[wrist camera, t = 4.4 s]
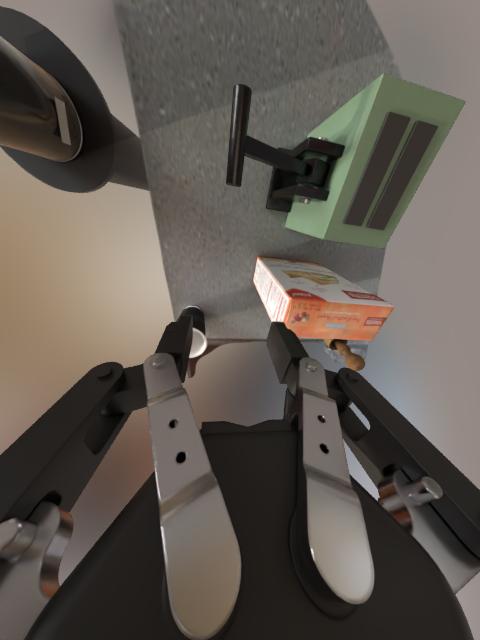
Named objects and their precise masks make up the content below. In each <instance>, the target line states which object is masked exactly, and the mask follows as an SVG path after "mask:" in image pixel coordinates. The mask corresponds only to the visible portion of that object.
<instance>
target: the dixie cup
mask: <svg viewBox="0 0 480 640" xmlns="http://www.w3.org/2000/svg"><path fill="white" fill-rule="evenodd" d="M181 315H190V316H193V339H192V346H191V351H190V356H189V358H193V357H196V356H199V355H200V354H202V353H203V352H204V351H205V349H206V347H207V339H206V337H205V321H204V314H203V312H202V310H201V309H200V308H199V307H197V306H189V307H187V308H185V309H184V310H183V311H182V313H181ZM181 315H180V316H181ZM180 316H179V318H180ZM179 318H178V319H177V321H176V322H178V321H179Z"/></svg>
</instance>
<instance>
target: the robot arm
mask: <svg viewBox="0 0 480 640" xmlns="http://www.w3.org/2000/svg"><path fill="white" fill-rule="evenodd" d="M84 144H85V133H84V127H83V123H82V119H81V117H80V114H79V112H78V109H77V107H76V105H75V104H74V102H73V100H72V99H71V97H70V95H69V94H68V93H67V91H66V90H65V89H64V87H63V86H62V85H61V84H60V83H59V82H58V81H57V80H56V79H55V78H54V77H53V76H52V75H51V74H49V73H48V72H47V71H46V70H44V69H43V68H42V67H40V66H39V65H37V64H35V63H34V62H33V61H31V60H30V59H29V58H27V57H26V56H25V55H24V54H22V53H21V52H20V51H19V50H17V49H16V48H15V47H14V46H12V45H11V44H10V43H8V42H7V41H6V40H5V39H3V38H2V37H1V36H0V145H3V146H7V147H11V148H14V149H18V150H21V151H25V152H28V153H31V154H35V155H38V156H42V157H45V158H47V159H50V160H53V161H57V162H71V161H74V160H75V159H77V158H78V157H79V156H80V155H81V153H82V151H83V148H84ZM192 339H193V316H190V315H181V316H180V318H179V321H178V322H171V323H170V324H169V325H168V326H166V329H165V331H164V333H163V335H162V338H161V340H160V342H159V345H158V347H157V349H156V351H155V354H153V355H151V356H150V357H148V358H147V359H146V360H145V362H144V363H143V364H141V365H137V366H133V367H128V368H123V366H122V365H121V364H119V363H116V362H107V363H103V364H100V365H98V366H96V367H94V368H92V369H91V370H90V371H89V372H88V373H87V374H86V375H85V376H83V377H82V378H81V379H80V380H79V381H78V382H77V383H76V384H75V385H74V386H73V387H72V388H71V389H70V390H69V391H68V392H67V393H66V394H64V395H63V396H62V397H61V398H60V399H59V400H58V401H57V402H56V403H55V404H54V405H53V406H52V407H51V408H50V409H49V410H48V411H47V412H46V413H45V414H43V415H42V416H41V417H40V418H39V419H38V420H37V421H36V422H35V423H34V424H33V425H32V426H31V427H30V428H29V429H28V430H26V431H25V432H24V433H23V434H22V435H21V436H20V437H19V438H18V439H17V440H16V441H15V442H14V443H13V444H12V445H11V446H10V447H9V448H8V449H7V450H5V451H4V452H3V453H2V454H1V455H0V640H474V639H473V636H472V633H471V630H470V627H469V624H468V622H467V619H466V617H465V614H464V612H463V610H462V607H461V605H460V603H459V601H458V599H457V597H456V595H455V594H456V593H457V592H458V591H459V590H460V589H461V588H463V587H464V586H465V585H466V584H467V583H468V582H469V581H470V580H471V579H472V578H473V577H474V576H475V575H476V574H478V573H479V572H480V490H479V489H478V488H477V487H476V486H475V485H474V484H473V483H472V482H471V481H470V480H469V479H468V478H467V477H465V476H464V474H463V473H461V472H460V471H459V470H458V469H457V468H456V467H455V466H454V465H453V464H452V463H451V462H450V461H449V460H448V459H447V458H446V457H445V456H444V455H443V454H442V453H441V452H440V451H439V450H438V449H437V448H435V446H434V445H433V444H432V443H431V442H429V441H428V440H427V439H426V438H425V437H424V436H423V435H422V434H421V433H420V432H419V431H418V430H417V429H416V428H415V427H414V426H413V425H412V424H411V423H410V422H409V421H408V420H407V419H406V418H405V417H404V416H403V415H402V414H400V413H399V412H398V411H397V410H396V409H395V408H394V407H393V406H392V405H391V404H390V403H389V402H388V401H387V400H386V399H385V398H384V397H383V396H382V395H381V394H380V393H379V392H378V391H377V390H376V389H375V388H374V387H372V385H371V384H370V383H368V381H366V380H365V379H364V378H363V377H362V376H361V375H360V374H359V373H357V372H356V371H354V370H352V369H349V368H341V369H340V370H339V371H338V373H336V372H332V371H328V370H325V369H324V368H323V366H322V365H321V364H320V363H319V362H318V361H316V360H315V359H312V358H310V357H309V356H308V354H307V352H306V351H305V349H304V347H303V346H302V344H301V342H300V341H299V340H298V337H297V336H296V334H295V333H294V332H293V331H292V330H291V329H287V327H286V325H285V323H284V322H278V321H273V322H272V324H271V327H270V330H269V334H268V337H267V346H268V350H269V353H270V356H271V358H272V361H273V364H274V367H275V370H276V373H277V376H278V379H279V382H280V384H287V386H288V388H287V390H286V396H285V406H284V416H283V419H282V420H267V421H264V422H261V423H258V424H256V425H253V426H249V427H246V426H242V425H238V424H234V423H230V422H225V421H219V422H202V429H200V430H199V428H198V425H197V422H196V419H195V416H194V413H193V410H192V407H191V404H190V401H189V398H188V394H187V392H186V390H185V388H183V386H182V383H184V381H185V376H186V371H187V366H188V361H189V356H190V351H191V346H192ZM352 402H353V403H354V404H355V405H356V406H357V408H358V409H359V410H360V411H361V412H362V414H363V415H364V416H365V417H366V418H367V420H368V421H369V423H370V430H368V429H367V428H366V427H365V425H364V424H363V423H362V422H361V420H360V419H359V418H358V417H357V416H356V414H355V413H354V412H353V411H352V409H351V408H350V407H349V406H350V405H351V403H352ZM144 407H147V410H148V418H149V427H150V435H151V443H152V451H153V460H154V468H155V471H154V472H153V473H152V474H151V476H150V477H149V478H148V480H147V481H146V482H145V483H144V484H143V485H142V487H141V488H140V489H139V490H138V492H137V493H136V494H135V495H134V497H133V498H132V499H131V500H130V501H129V503H128V504H127V505H126V506H125V508H124V509H123V510H122V511H121V512H120V514H119V515H118V516H117V517H116V519H115V520H114V521H113V522H112V524H111V525H110V526H109V527H108V529H107V530H106V531H105V532H104V533H103V535H102V536H101V537H100V538H99V540H98V541H97V542H96V543H95V544H94V546H93V547H92V548H91V550H89V552H88V553H87V554H86V555H85V557H84V558H83V559H82V560H81V562H80V563H79V564H78V565H77V566H76V568H75V569H74V570H73V571H72V573H71V574H70V575H69V576H68V577H67V579H66V580H65V581H64V583H63V584H62V585H61V586H59V582H58V573H59V567H60V563H61V560H62V557H63V554H64V552H65V550H66V548H67V546H68V544H69V541H70V538H71V536H72V532H73V518H72V516H71V514H70V513H69V512H70V511H71V509H72V507H73V506H74V504H75V503H76V501H77V499H78V498H79V496H80V494H81V493H82V491H83V490H84V488H85V487H86V485H87V483H88V482H89V480H90V479H91V477H92V475H93V474H94V472H95V471H96V469H97V467H98V466H99V464H100V463H101V461H102V459H103V458H104V456H105V454H106V453H107V451H108V449H109V448H110V446H111V445H112V443H113V442H114V440H115V438H116V437H117V435H118V434H119V432H120V430H121V429H122V427H123V426H124V424H125V422H126V421H127V419H128V417H129V415H130V414H131V413H132V411H134V410H137V409H141V408H144ZM343 439H344V440H345V442H346V443H347V445H348V446H349V448H350V449H351V451H352V452H353V454H354V455H355V457H356V458H357V460H358V461H359V462H360V464H361V465H362V467H363V468H364V470H365V471H366V473H367V474H368V476H369V477H370V479H371V480H372V481H373V483H374V484H375V486H376V487H377V489H378V492H379V496H380V497H379V498H378V501H377V500H375V498H373V497H372V496H371V495H370V494H369V493H368V492H367V491H366V490H365V489H364V488H363V487H362V486H361V485H360V484H359V483H358V482H357V481H356V480H355V479H354V478H353V477H352V476H351V475H350V474H349V470H348V464H347V459H346V454H345V448H344V444H343Z"/></svg>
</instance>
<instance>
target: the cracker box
mask: <svg viewBox="0 0 480 640" xmlns="http://www.w3.org/2000/svg"><path fill="white" fill-rule="evenodd" d="M253 282H254V284H255V286H256V288H257V291H258V293H259V295H260V297H261V299H262V302H263V304H264V306H265V308H266V310H267V313H268V315H269V317H270V319H271V321H272V322H273V321H278V322H284V323H285V325H286V327H287V329H291V330H292V331H293V332H294V333H295V334H296V336H297V337H303V338H323V339H346V340H365V341H372V340H373V339H374V337H375V336H376V334H377V333H378V331H379V330H380V328H381V327H382V325H383V323H384V322H385V321H386V319H387V318H388V316H389V315H390V313H391V312H392V310H393V309H394V307H395V306H394V305H392V304H390V303H388V302H386V301H384V300H383V299H381V298H379V297H377V296H375V295H374V294H372V293H370V292H368V291H366V290H364V289H363V288H361V287H359V286H357V285H355V284H354V283H352V282H350V281H348V280H347V279H345V278H343V277H341V276H339V275H338V274H336V273H334V272H332V271H330V270H328V269H327V268H325V267H323V266H321V265H319V264H318V263H309V262H301V261H292V260H284V259H276V258H268V257H259V256H258V258H257V263H256V268H255V274H254V279H253Z"/></svg>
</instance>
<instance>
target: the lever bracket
mask: <svg viewBox="0 0 480 640" xmlns="http://www.w3.org/2000/svg"><path fill="white" fill-rule="evenodd" d="M344 149H345V145H342V144H338V143H334V142H330V141H329V140H328V139H327V138H324V137H320V138H314V137H311V136H310V137H308V138H307V139H306V140H305V141H303V142H302V143H301V144H299V145H298V146H297V147H295V148H294V149H293V150H292V151H291V150H287V149H283V148H278V150H280V151H282V152H284V153H286V154H288V155H291V156H293V157H295V158H297V159H299V160H304V159H312V158H319V159H321V160H323V161H325V162H327V163H329V162H332V161H334V160H337V159H339V158H341V157H342V155H343V152H344ZM296 177H297V175H294V174H291V173H289V172H286V171H284V170H281V169H278V168H276V167H273V171H272V177H271V182H270V188H269V193H268V198H267V204H266V209H272V210H277V211H283V212H289V213H290V212H291V209H292V205H293V203H302V204H310V202H321V201H327V199H328V196H329V193H330V191H326V190H321V189H317V188H312V187H307V186H302V185H298V184H297V183H295V181H296Z"/></svg>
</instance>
